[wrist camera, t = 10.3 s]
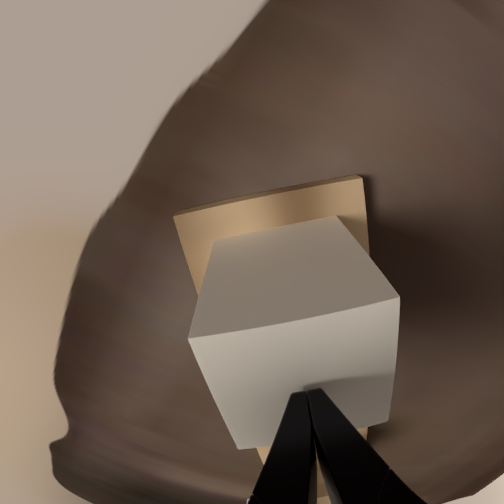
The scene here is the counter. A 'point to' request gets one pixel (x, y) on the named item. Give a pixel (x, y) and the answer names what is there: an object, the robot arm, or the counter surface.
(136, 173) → the counter surface
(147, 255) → the counter surface
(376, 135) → the counter surface
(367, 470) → the robot arm
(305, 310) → the white rectangular block
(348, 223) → the stand
